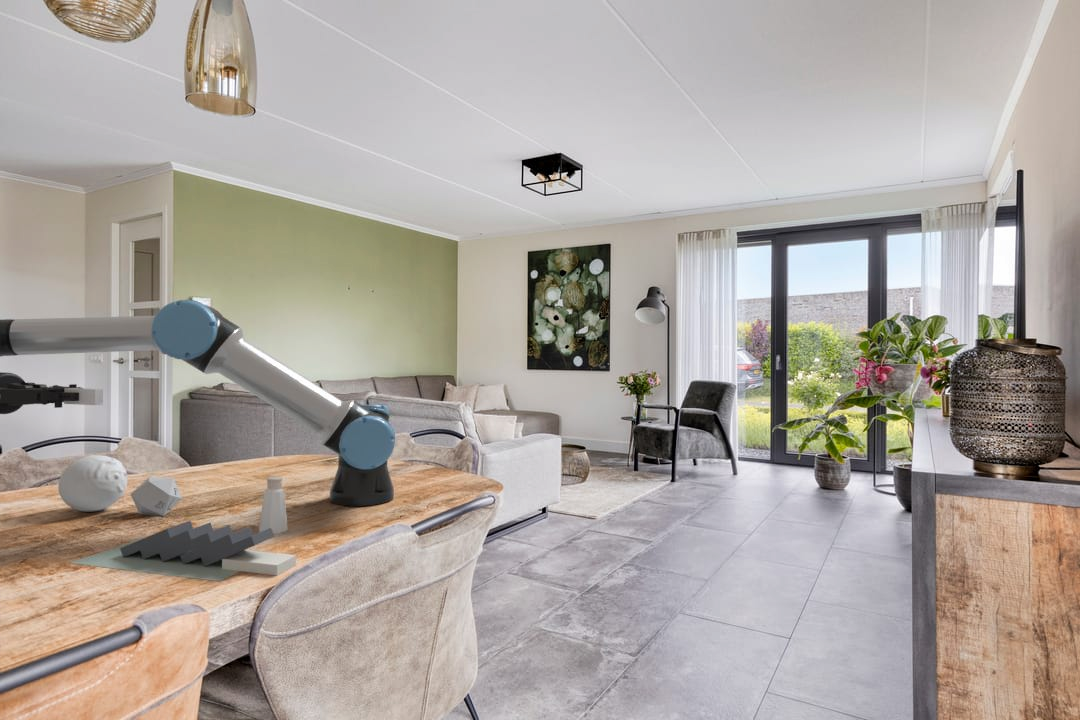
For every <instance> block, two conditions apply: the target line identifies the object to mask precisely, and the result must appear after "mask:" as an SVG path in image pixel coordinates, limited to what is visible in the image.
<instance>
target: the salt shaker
mask: <svg viewBox="0 0 1080 720" xmlns="http://www.w3.org/2000/svg"><path fill="white" fill-rule="evenodd" d="M266 481H267V486H266V487H267V488H266V489H265V490H264V491H263V498H262V503H261V510H260V512H261V513H260V517H259V518H260V520H259V526H258V531H259V533H260V532H262V531H264V530H267V529H269V528H271V529H272V532H273V535H274V534H281V533H284V532H286V531H288V520H287V507H286V505H287V504H286V494H285V489H284V488H282V485H283V483H282V482H283V477H282V476H280V475H272V476H269V477H267V478H266Z"/></svg>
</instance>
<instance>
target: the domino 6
mask: <svg viewBox="0 0 1080 720" xmlns="http://www.w3.org/2000/svg"><path fill="white" fill-rule="evenodd" d="M253 550H254V549H249V550H243V551H240V552H238V553H236V554H233V555H231V556H228V557H226V558H223V559H222V569H227V570H236V571H240V572H244V573H245V572H246V573H253V574H262V575H263V574H264V575H269V576H270V575H272V576H279V575H281V574H282V573H284V572H286V571H288V570H290V569H291V568H293V567H295V566H297V555H296V554H291V553H290V554H288V553H280V552H276V553H271V552H272V551H267V552H262V551H263V550H258V551H253Z"/></svg>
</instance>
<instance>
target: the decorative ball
mask: <svg viewBox="0 0 1080 720" xmlns="http://www.w3.org/2000/svg"><path fill="white" fill-rule="evenodd" d="M127 485H128V473H127V470H126V468H125V467H124V466H123V463H122V462H121V461H120V460H119V459H116V458H114V457H112V456H111V457H110V456H107V455H99V454H95V455H89V456H88V455H87V456H84V457H82V458H81V457H80V458H78V459H77V460H75V461H73V462H72V463H70V464H69V465H68V466H67V467H66V468H65V469H64V471H63V472H62V474H61V475H60V478H59V481H58V493H59V496H60V498H61V500H62V501H63V502H64V504H66V505H67V506H68V507H70V508H72V509H74V510H76V511H80V512H84V513H85V512H86V513H87V512H88V513H89V512H91V513H92V512H98V511H102V510H105V509H108V508H109V507H111V506H112V505H114V504H115V503H117V502H118V501H119V500H120V499H121V497H122V496H123V495H124V493H125V492H126V488H127Z"/></svg>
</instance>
